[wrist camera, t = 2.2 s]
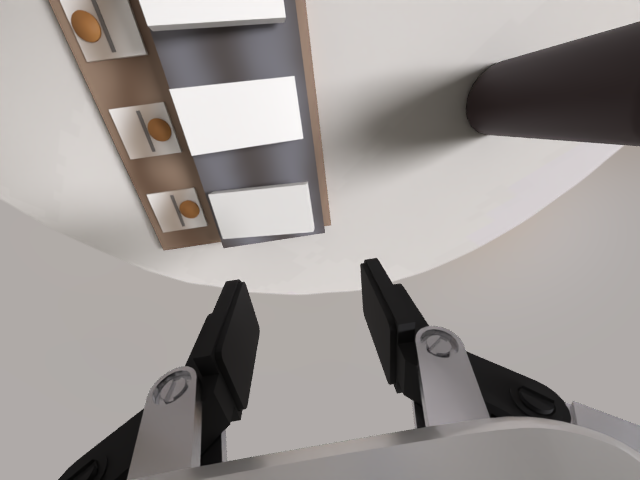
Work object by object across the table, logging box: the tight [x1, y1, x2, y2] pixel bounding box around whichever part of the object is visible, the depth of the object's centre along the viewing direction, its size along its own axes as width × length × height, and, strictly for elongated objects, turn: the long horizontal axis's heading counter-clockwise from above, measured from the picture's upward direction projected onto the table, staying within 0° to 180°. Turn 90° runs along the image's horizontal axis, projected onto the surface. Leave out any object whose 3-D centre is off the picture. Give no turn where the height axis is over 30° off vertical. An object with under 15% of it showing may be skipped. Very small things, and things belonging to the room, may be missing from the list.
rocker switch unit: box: [49, 0, 331, 250], centre depth 23 cm, size 20×25×4 cm
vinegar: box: [466, 22, 640, 146], centre depth 17 cm, size 7×7×20 cm
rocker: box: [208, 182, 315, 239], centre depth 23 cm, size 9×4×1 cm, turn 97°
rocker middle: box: [169, 76, 303, 156], centre depth 20 cm, size 9×4×1 cm, turn 97°
